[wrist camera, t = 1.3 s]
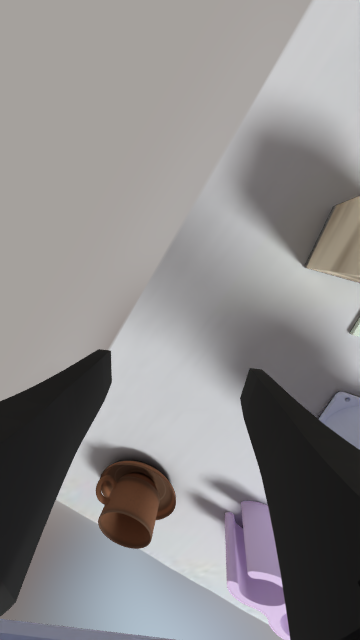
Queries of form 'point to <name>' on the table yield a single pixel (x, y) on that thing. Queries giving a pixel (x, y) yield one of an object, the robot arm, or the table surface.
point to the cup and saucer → (133, 502)
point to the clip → (255, 565)
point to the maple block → (339, 243)
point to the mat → (356, 329)
